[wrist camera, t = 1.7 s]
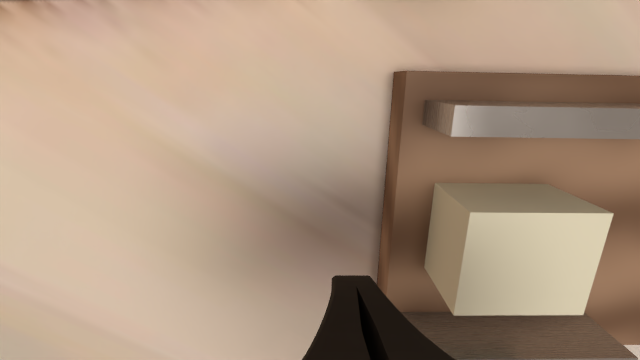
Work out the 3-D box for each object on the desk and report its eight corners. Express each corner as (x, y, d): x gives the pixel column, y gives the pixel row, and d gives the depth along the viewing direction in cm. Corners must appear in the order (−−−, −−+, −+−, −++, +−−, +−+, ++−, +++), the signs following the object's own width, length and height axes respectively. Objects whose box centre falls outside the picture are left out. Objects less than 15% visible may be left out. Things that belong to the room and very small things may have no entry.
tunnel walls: (578, 327, 20) (631, 376, 17) (400, 328, 20) (418, 379, 17) (645, 103, 16) (730, 110, 13) (424, 99, 16) (455, 105, 13)
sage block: (528, 267, 19) (583, 315, 15) (424, 267, 19) (453, 315, 15) (547, 183, 17) (613, 213, 14) (434, 182, 17) (470, 212, 13)
